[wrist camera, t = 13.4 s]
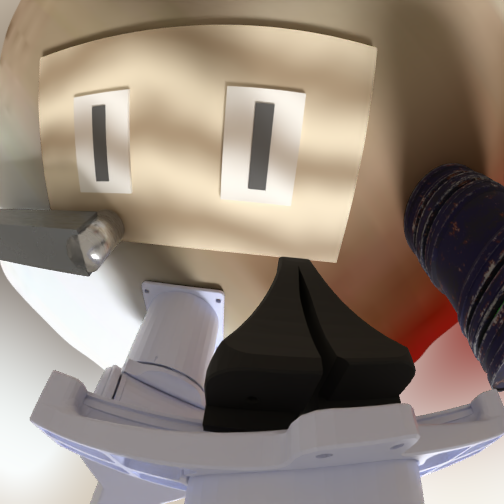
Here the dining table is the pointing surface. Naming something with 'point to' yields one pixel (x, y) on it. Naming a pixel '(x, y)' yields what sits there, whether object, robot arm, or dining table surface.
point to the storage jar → (464, 254)
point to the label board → (210, 135)
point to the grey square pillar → (59, 238)
